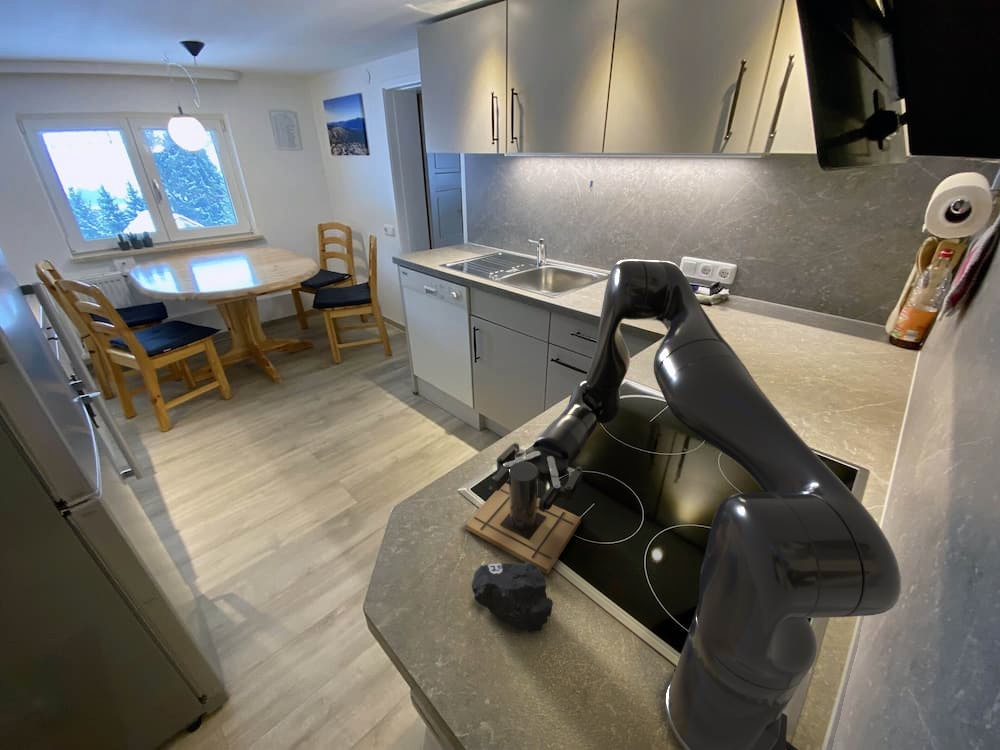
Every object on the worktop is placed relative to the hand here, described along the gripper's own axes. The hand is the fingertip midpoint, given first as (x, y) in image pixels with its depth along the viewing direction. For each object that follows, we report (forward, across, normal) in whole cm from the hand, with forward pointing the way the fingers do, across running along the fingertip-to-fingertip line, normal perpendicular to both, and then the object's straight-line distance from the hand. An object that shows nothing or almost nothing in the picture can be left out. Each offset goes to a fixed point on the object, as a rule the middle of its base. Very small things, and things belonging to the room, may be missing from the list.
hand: (517, 496), depth 66 cm
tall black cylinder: (-2, 0, +7) cm, 7 cm away
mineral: (+10, +6, +9) cm, 15 cm away
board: (-2, 0, +8) cm, 9 cm away
